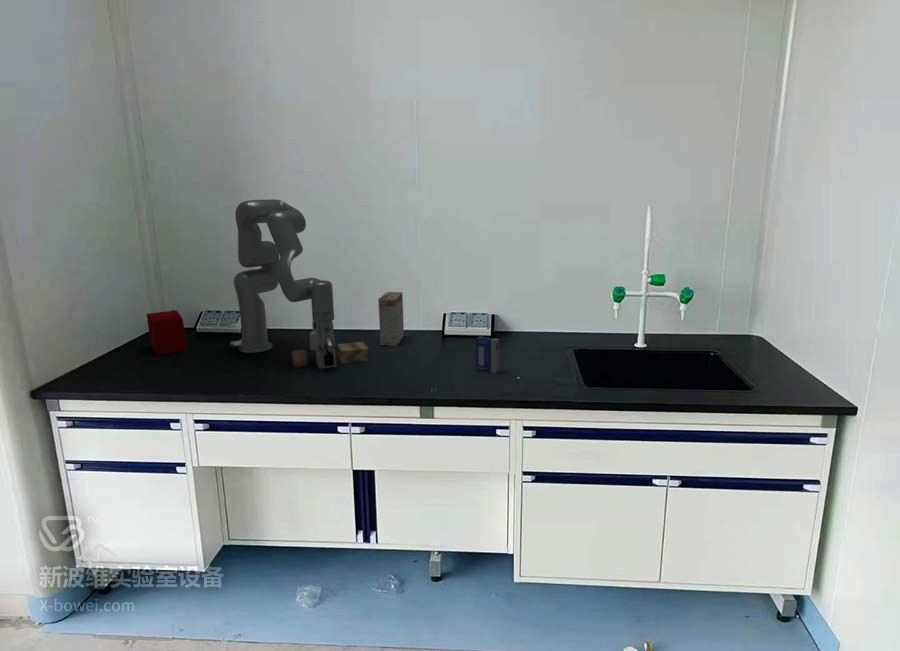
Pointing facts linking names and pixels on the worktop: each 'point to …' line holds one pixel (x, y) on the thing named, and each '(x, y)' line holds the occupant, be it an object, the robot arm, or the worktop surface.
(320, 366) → the grey cube
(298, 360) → the terracotta cylinder
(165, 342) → the fire alarm
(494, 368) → the walkman
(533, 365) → the worktop surface
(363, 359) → the oak block
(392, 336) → the coffeecake box
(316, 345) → the medicine bottle
